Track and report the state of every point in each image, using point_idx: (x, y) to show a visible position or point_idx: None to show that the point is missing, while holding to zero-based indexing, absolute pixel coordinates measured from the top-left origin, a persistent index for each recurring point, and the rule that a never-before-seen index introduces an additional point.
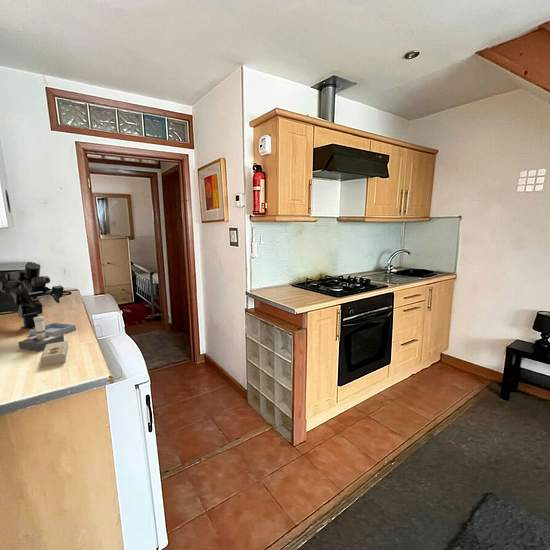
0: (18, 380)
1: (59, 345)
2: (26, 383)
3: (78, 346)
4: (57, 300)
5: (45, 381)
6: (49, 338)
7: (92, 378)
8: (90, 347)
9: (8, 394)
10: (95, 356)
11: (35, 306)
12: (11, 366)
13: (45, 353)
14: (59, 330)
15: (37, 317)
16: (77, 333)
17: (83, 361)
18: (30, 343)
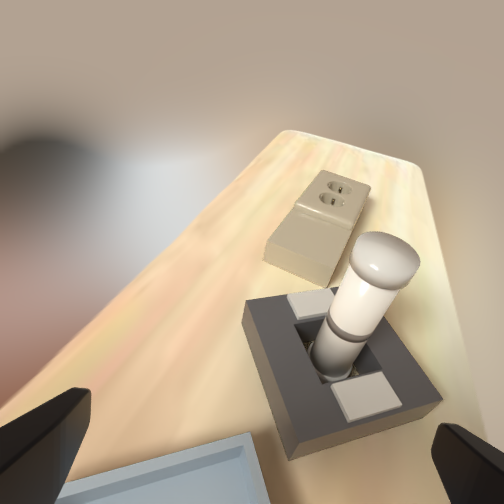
0: (406, 198)
1: (304, 227)
2: (393, 182)
3: (240, 238)
4: (71, 418)
5: (364, 168)
6: (313, 296)
7: (304, 134)
8: (225, 208)
9: (418, 176)
10: (254, 169)
11: (445, 429)
12: (429, 264)
13: (358, 194)
14: (191, 448)
15: (395, 255)
16: (122, 384)
17: (284, 171)
18: (387, 322)
